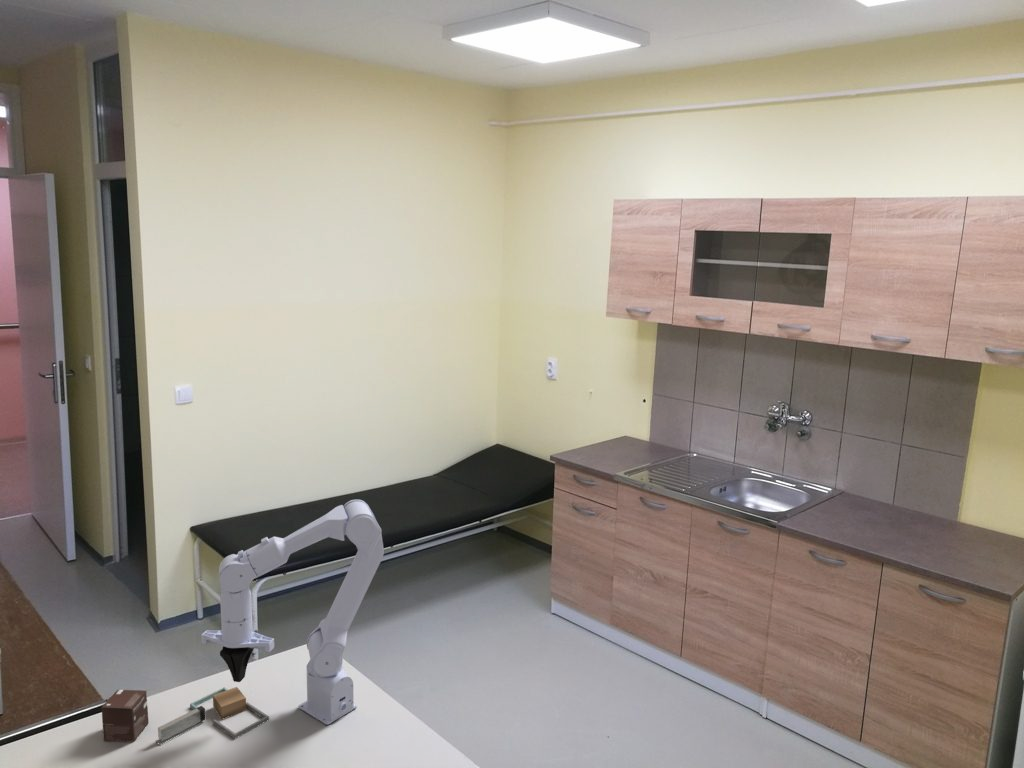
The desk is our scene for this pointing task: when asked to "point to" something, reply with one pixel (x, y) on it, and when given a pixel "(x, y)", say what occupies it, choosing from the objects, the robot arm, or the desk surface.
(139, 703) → the box
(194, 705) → the frame
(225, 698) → the plug
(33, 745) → the desk surface
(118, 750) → the desk surface
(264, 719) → the socket
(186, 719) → the bar
